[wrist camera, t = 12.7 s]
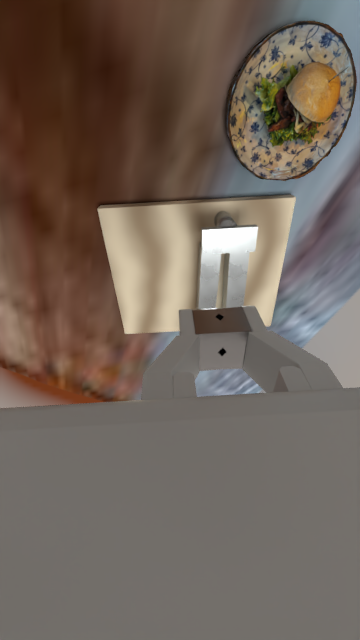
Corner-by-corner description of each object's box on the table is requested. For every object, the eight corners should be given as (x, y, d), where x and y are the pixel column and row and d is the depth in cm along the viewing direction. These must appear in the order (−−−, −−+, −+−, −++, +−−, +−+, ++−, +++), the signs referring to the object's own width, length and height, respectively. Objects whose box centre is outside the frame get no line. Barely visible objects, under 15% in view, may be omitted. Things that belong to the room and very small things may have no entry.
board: (126, 327, 41) (125, 334, 40) (100, 205, 30) (97, 208, 29) (267, 320, 41) (270, 326, 40) (291, 194, 30) (296, 197, 29)
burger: (201, 100, 25) (210, 93, 19) (319, -20, 21) (377, -77, 15) (261, 202, 31) (283, 221, 25) (364, 124, 27) (419, 124, 21)
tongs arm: (197, 242, 32) (199, 252, 29) (219, 242, 32) (223, 252, 29) (193, 328, 39) (195, 341, 37) (211, 327, 39) (213, 341, 37)
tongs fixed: (198, 212, 30) (202, 224, 26) (247, 209, 30) (258, 221, 26) (198, 327, 40) (201, 348, 36) (236, 325, 40) (243, 345, 36)
